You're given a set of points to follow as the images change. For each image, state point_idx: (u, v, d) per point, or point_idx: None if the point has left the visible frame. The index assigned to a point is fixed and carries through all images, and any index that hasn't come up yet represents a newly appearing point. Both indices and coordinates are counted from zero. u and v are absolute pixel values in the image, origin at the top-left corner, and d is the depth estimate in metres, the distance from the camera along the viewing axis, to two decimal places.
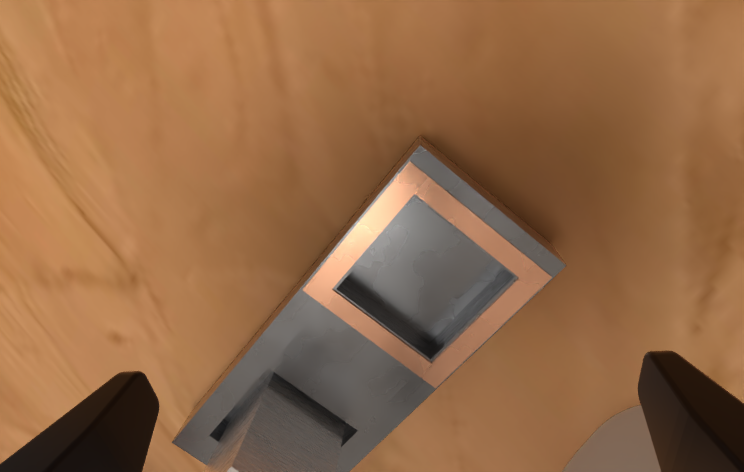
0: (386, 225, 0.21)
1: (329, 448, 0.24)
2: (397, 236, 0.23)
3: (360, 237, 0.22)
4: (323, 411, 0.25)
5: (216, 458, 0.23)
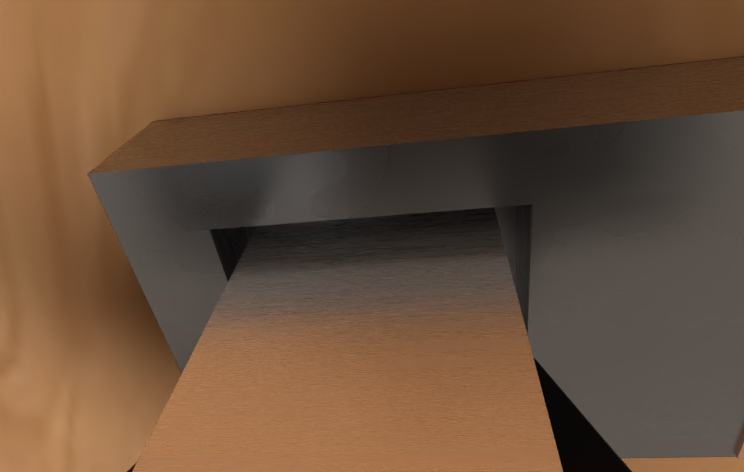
0: None
1: None
2: None
3: None
4: None
5: (287, 358, 0.07)
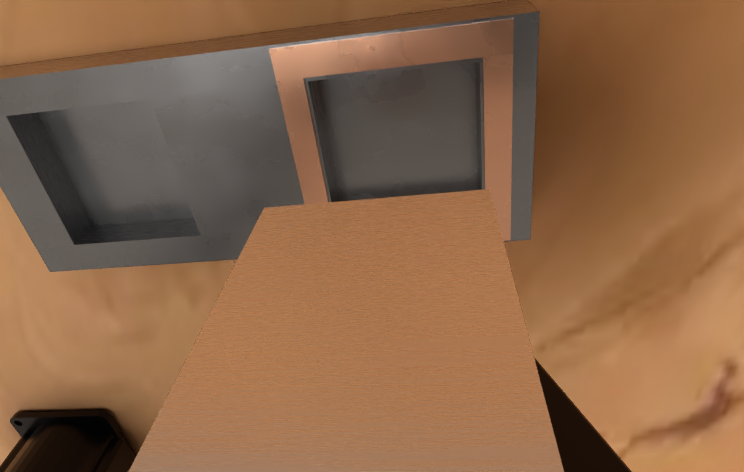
0: (424, 63, 0.16)
1: None
2: (409, 82, 0.18)
3: (386, 50, 0.16)
4: None
5: (285, 356, 0.07)
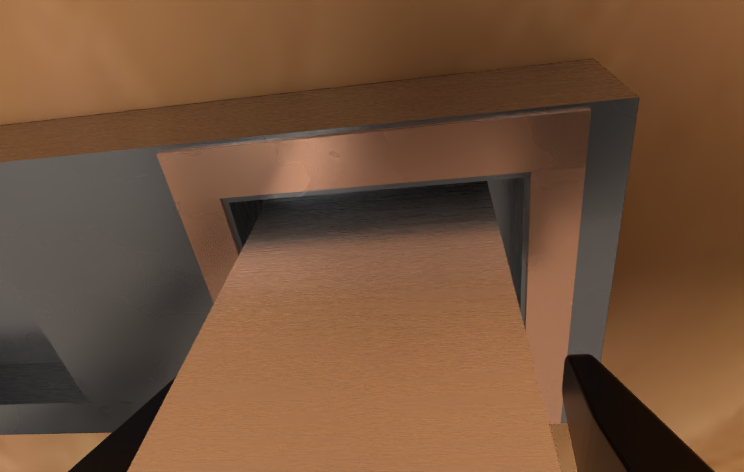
0: (426, 179, 0.09)
1: None
2: None
3: (360, 159, 0.09)
4: None
5: (299, 307, 0.07)
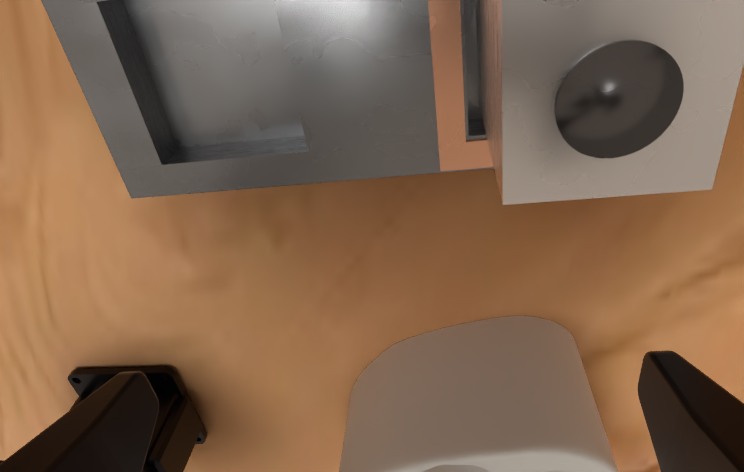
0: None
1: None
2: None
3: None
4: None
5: None
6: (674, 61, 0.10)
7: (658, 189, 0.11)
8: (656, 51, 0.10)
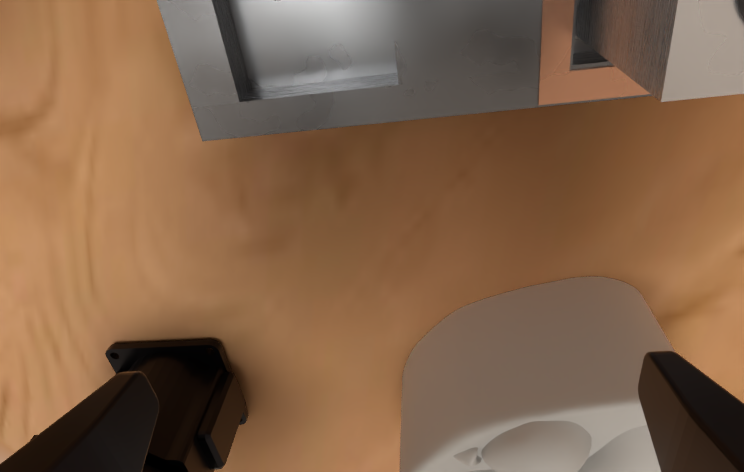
0: None
1: None
2: None
3: None
4: None
5: None
6: None
7: None
8: None
